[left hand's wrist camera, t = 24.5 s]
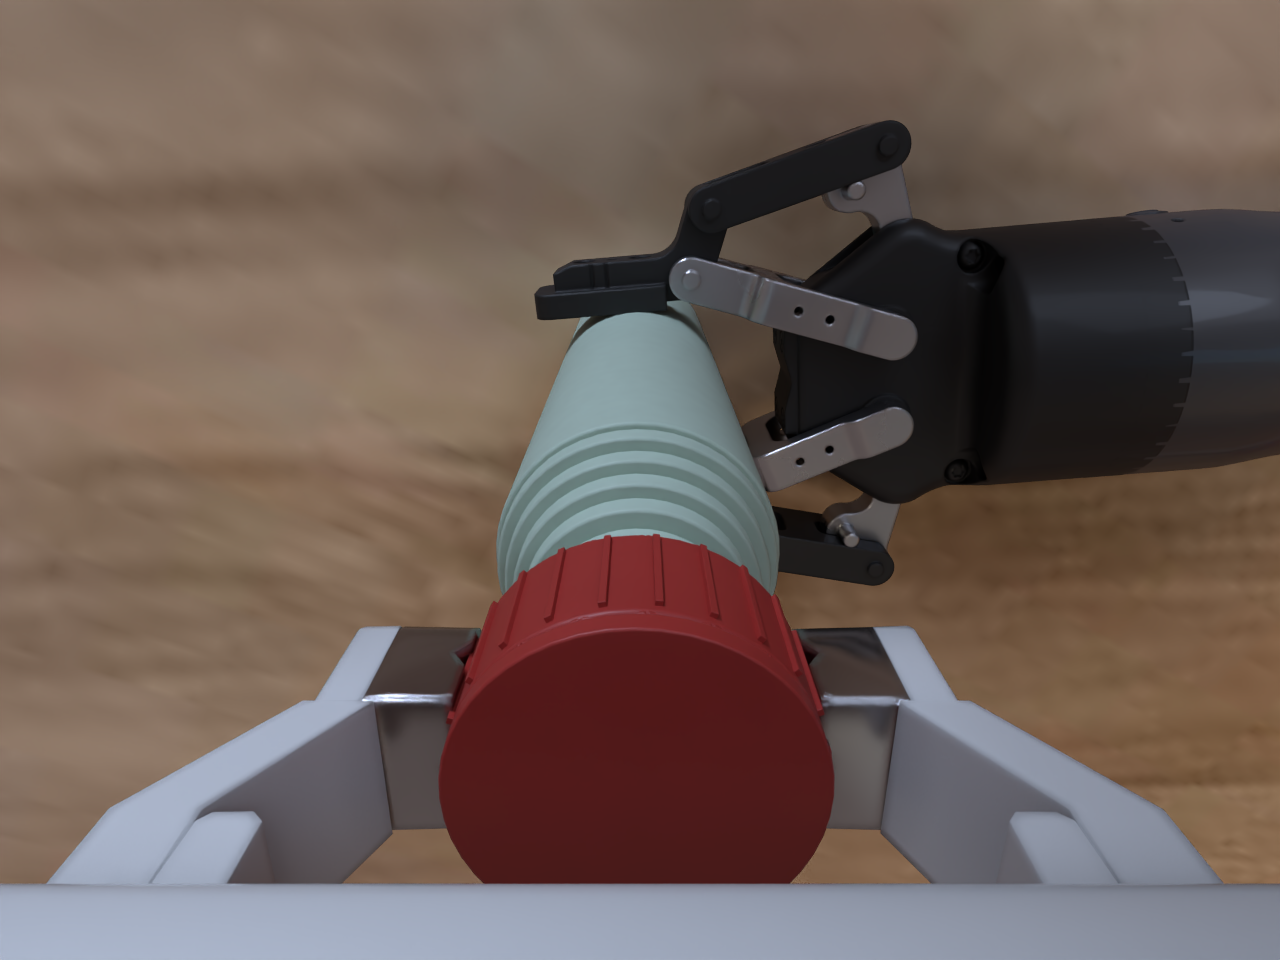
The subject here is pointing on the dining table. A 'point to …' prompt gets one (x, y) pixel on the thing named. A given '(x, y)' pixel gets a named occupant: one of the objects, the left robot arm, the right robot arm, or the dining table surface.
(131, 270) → the dining table surface
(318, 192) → the dining table surface
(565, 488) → the bottle
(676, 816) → the cap
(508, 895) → the left robot arm
